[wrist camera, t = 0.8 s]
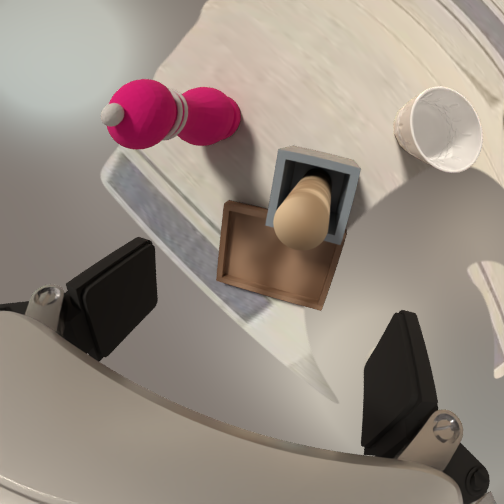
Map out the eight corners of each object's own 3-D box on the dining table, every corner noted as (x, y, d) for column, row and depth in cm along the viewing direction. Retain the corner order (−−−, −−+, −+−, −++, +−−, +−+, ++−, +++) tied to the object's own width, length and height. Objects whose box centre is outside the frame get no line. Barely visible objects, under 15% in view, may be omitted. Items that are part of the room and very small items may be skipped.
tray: (346, 228, 33) (346, 233, 32) (322, 303, 39) (321, 310, 37) (229, 200, 37) (224, 203, 35) (220, 274, 42) (216, 280, 40)
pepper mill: (206, 84, 30) (91, 60, 13) (254, 103, 30) (158, 77, 13) (186, 131, 34) (67, 146, 17) (230, 152, 34) (124, 180, 16)
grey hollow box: (353, 160, 30) (360, 168, 22) (339, 218, 33) (340, 245, 25) (293, 145, 31) (278, 149, 23) (282, 203, 35) (265, 225, 27)
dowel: (334, 172, 30) (334, 205, 16) (328, 200, 32) (320, 256, 18) (305, 165, 31) (278, 191, 17) (299, 193, 32) (269, 242, 18)
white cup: (383, 151, 28) (403, 157, 19) (392, 90, 24) (415, 74, 16) (439, 169, 26) (474, 184, 18) (449, 111, 23) (486, 106, 14)
